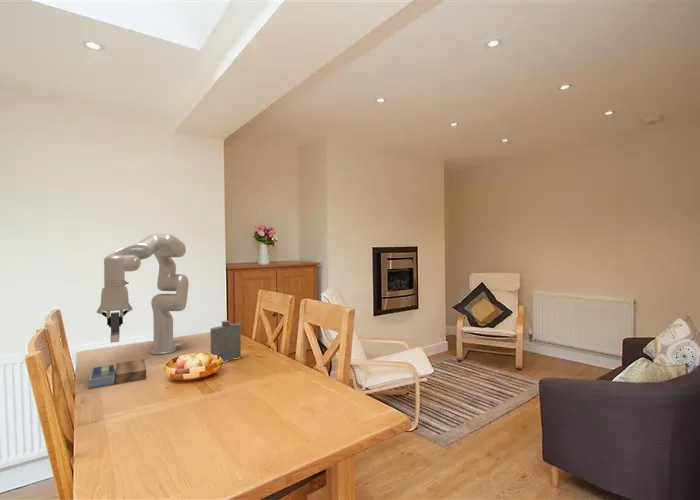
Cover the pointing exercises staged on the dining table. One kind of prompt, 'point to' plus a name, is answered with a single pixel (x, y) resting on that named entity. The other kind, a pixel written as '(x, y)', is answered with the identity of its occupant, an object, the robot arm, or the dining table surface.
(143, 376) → the walnut board
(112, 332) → the scraper
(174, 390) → the dining table surface
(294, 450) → the dining table surface
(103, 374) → the sage tile
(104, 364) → the cream tile
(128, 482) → the dining table surface
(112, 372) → the slate blue box
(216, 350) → the hip flask
